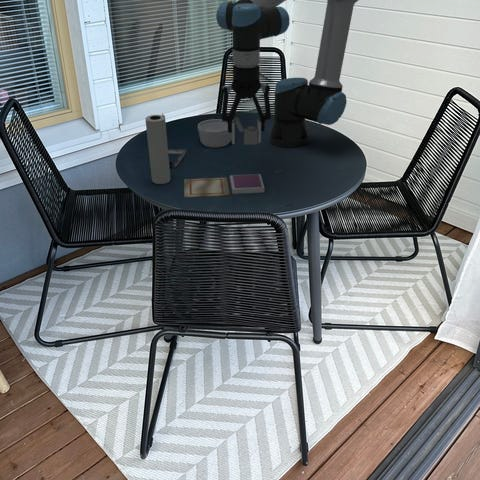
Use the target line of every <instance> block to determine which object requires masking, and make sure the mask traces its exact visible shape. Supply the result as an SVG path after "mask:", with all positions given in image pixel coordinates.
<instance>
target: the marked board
mask: <svg viewBox="0 0 480 480" xmlns="http://www.w3.org/2000/svg"><path fill="white" fill-rule="evenodd" d="M183 183H184V184H183V187H184V189H183V191H184V192H183V195H184V199H186V198H208V197H210V198H211V197H228V196H231V195H230V188H229V184H228V183H229V182H228V177H210V178H208V177H207V178H187V179H185V178H184V180H183Z"/></svg>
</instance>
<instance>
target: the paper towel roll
mask: <svg viewBox="0 0 480 480" xmlns="http://www.w3.org/2000/svg"><path fill="white" fill-rule="evenodd" d="M166 124H167V123H166V116H165V114H163V112H162V113H161V114H153V115H152V114H151V115H148V116H146V117H145V127H146V136H147V137H146V138H147V139H146V140H147V145H148V146H147V147H148V154H149V155H148V156H149V164H150V174H151V176H150V177H151V181H152V183H154V184H157V185H164V184H165V185H166V184H168V183H169V182H170V181H171V172H170V171H171V170H170V168H171V167H169V162H170V158H169V153H168V150H169V147H168V137H167V136H168V135H167V133H168V132H167V125H166Z"/></svg>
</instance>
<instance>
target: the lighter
mask: <svg viewBox="0 0 480 480" xmlns="http://www.w3.org/2000/svg"><path fill="white" fill-rule="evenodd" d="M233 120H234V123H235V126H236V127H237V129H238V131H239V133H243V145H254V146H255V145H259V143H258V129H257V128H256V127H255V126H254V125H253V126H252V125H247V128H245V127H244V125H243V122H242V121H241V119H240V117H239V116H237V117H235V118H233Z"/></svg>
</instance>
